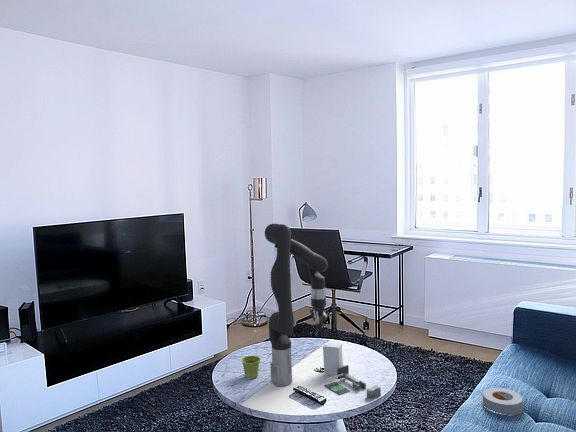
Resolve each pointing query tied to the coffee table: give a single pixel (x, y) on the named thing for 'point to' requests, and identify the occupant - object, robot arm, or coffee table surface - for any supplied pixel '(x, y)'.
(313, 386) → the coffee table surface
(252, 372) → the plant pot
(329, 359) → the skincare box
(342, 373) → the grey l-shaped bracket
